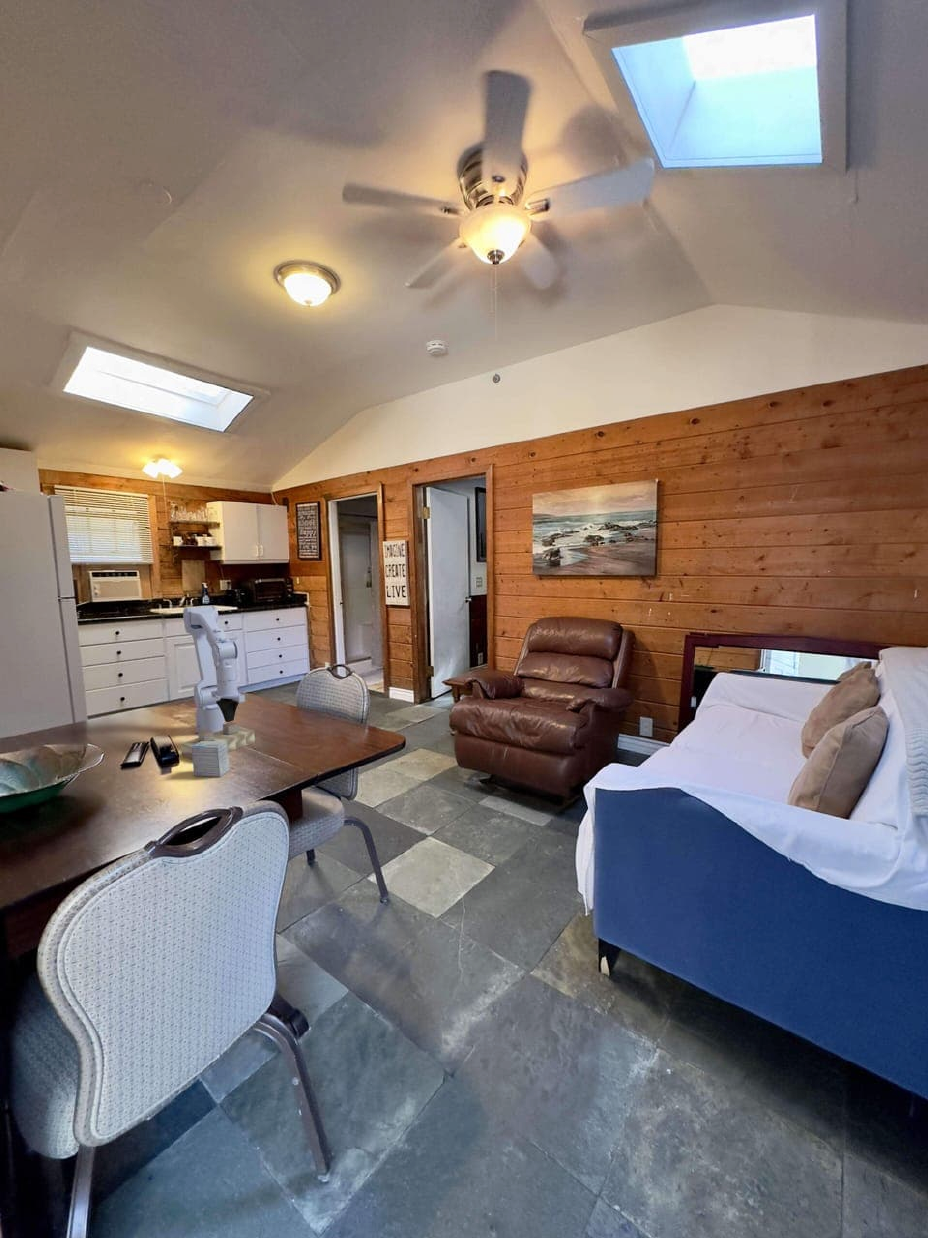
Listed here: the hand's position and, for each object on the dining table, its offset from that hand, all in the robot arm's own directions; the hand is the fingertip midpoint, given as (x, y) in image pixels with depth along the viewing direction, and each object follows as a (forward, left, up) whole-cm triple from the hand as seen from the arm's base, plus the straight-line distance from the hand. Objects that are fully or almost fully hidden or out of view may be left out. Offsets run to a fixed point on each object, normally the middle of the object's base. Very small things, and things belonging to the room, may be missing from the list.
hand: (229, 721), depth 153 cm
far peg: (0, 0, -5) cm, 5 cm away
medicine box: (+15, -16, -8) cm, 23 cm away
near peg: (0, -8, -5) cm, 9 cm away
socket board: (0, -4, -8) cm, 9 cm away
